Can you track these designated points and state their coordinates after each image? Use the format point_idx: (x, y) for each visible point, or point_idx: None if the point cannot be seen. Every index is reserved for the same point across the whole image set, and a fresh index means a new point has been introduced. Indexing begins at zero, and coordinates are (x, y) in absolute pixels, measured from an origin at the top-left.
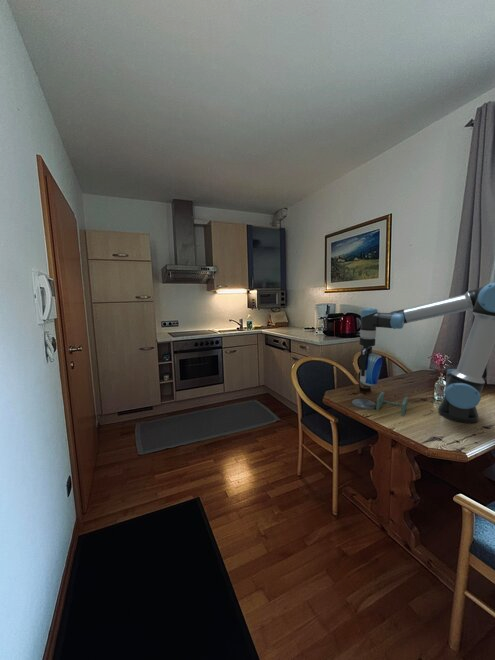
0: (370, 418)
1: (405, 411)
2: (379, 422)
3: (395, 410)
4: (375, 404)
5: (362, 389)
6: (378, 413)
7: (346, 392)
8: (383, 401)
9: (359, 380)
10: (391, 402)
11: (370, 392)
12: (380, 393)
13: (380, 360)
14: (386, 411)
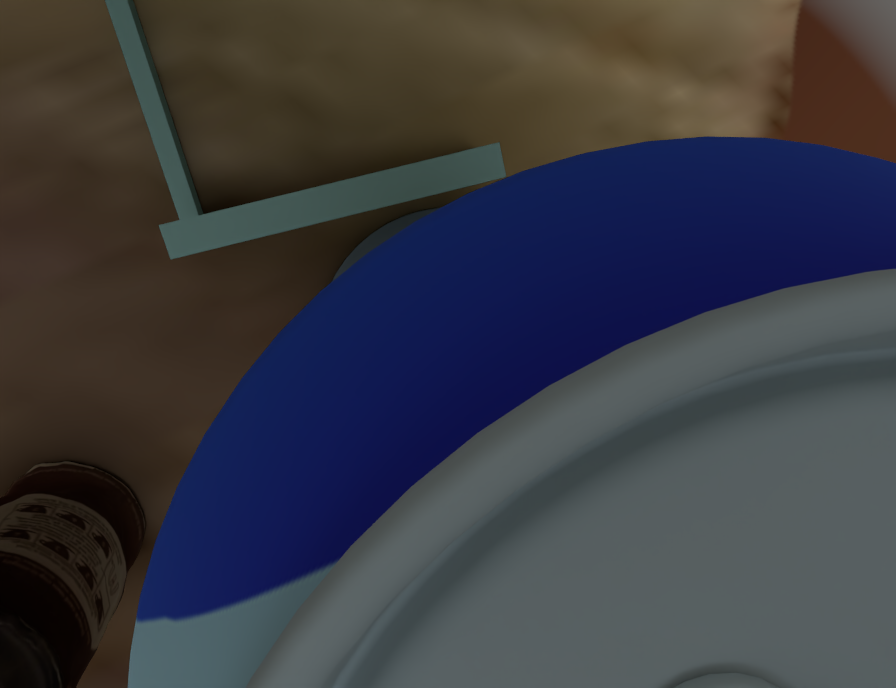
0: (739, 115)
1: None
2: (765, 4)
3: (322, 3)
4: (379, 236)
5: (123, 545)
6: (559, 112)
7: None
8: (202, 214)
9: (84, 668)
10: (155, 124)
11: (45, 464)
12: (266, 235)
13: None
14: (437, 70)
